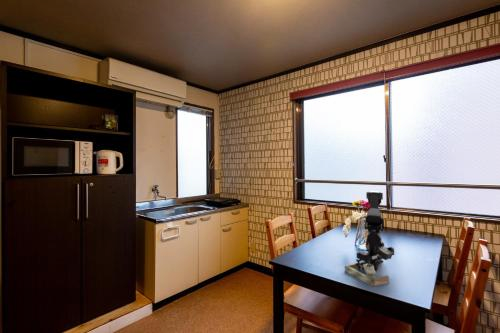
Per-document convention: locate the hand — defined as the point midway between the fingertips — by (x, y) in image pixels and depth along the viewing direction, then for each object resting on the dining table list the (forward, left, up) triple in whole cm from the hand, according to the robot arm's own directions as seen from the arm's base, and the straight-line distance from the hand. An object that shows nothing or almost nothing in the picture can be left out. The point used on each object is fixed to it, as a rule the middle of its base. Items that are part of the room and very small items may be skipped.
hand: (375, 271), depth 121 cm
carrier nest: (-1, -5, -2) cm, 6 cm away
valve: (-1, -4, -2) cm, 4 cm away
